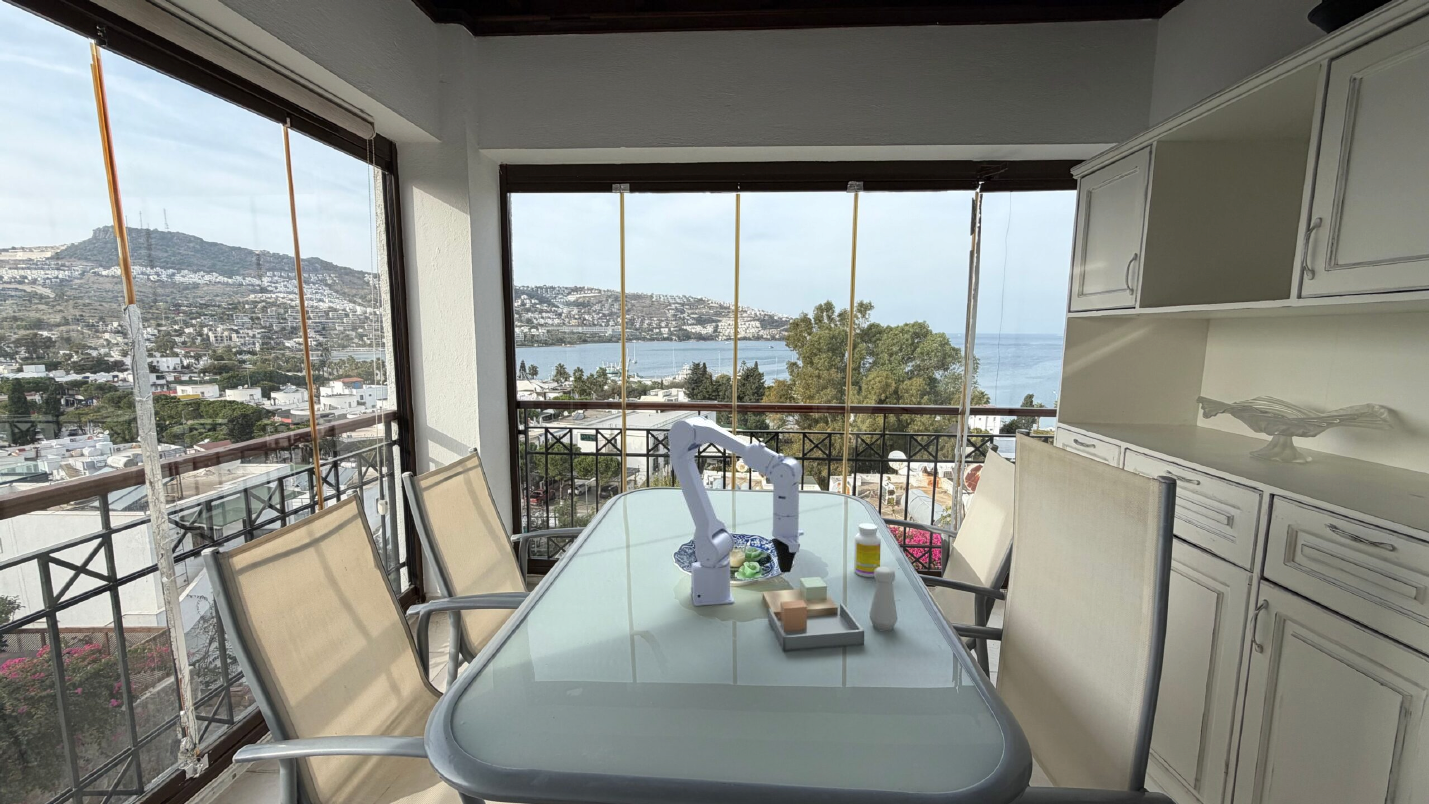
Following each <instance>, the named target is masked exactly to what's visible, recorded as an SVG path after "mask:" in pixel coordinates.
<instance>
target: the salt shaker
mask: <svg viewBox="0 0 1429 804" xmlns="http://www.w3.org/2000/svg"><path fill="white" fill-rule="evenodd" d="M873 578H874V579H875V580H876V585H875V590H874V593H873V597H872V601H871V606H870V609H869V620H870V621H871V624H872V627H874V629H876V630H878V631H880V632H890V631H892V630H893V629H894V627H895V625H896V624H897V622H898V612H897V606H896V605H897V604H896V600H895V592H894V586H893V582H894V581H895V580H896V573H895V570H893V569H892V568H891V567H889V566H880V567H878V568H876V569H875V572H874V577H873Z"/></svg>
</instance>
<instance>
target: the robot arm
mask: <svg viewBox="0 0 1429 804" xmlns="http://www.w3.org/2000/svg"><path fill="white" fill-rule="evenodd" d="M667 438H668V441H669V460H670V461H669V462H670V463H671V466H672V469H673V471H674V474H675V476H676V478H677V482H678V484H679V487H680V489H681V492H682V494H683V495H682V496H683V497H684V499H685V502H686V503H685V504H686V505H687V508H688V511H689V513H690V516H691V518H692V521H693V523H694V526H695V529H694V530H695V531H694V534H693V538H692V539H693V542H694V547H695V548H694V549H695V550H694V553H695V554H694V555H695V557H696V559H697V561H696V562H692V563H691V568H690V570H691V571H690V574H691V575H690V577H691V578H690V579H691V581H690V582H691V584H690V585H691V586H690V593H691V596H692V600H693V605H694V606H696V607H697V606H711V605H722V604H723V605H725V604H733V603H735V599H734V597H733V594H732V591H731V553H732V551H733V550H734V548H735V538H734V537H733V534H732V533H730V531H729V530H728V529H727V527H726V524H725V523H724V522H723V521H722V520H720V519H718V518H717V516H716V512H715V510H714V508H713V507H714V506H713V505H712V502H711V499H710V497H709V495H708V492H707V490H706V486H705V485H704V481H703V479H702V476H701V474H700V471H699V468H698V465H697V463H696V460H695V456H696V454H697V452H698V450H699V448H700V447H701V445H703V444H704V445H705V444H710V443H711V444H714V445H716V446H718V447H720V448H722V449H724V450H725V451H728V452H730V453H732V454H734V455H737V456H739V457H741V459H742V462H743V464H744V465H745V466H747V467H748V468H749V469H752V470H753V471H755V472H757V473H759V474H761V475H763V476H765V477H766V478H769V481H770V483H771V484H772V487H773V491H772V492H773V493H772V530H771V536H772V537H773V538H771V542H772V545H773V548H774V550H775V553H776V558H777V564H778V568H779V571H780V572H781V573H790V572H791V571H792V567H793V562H794V559H795V558H796V557H795V556H796V554H797V553H799V552H800V546H801V544H800V543H799V538H800V537H801V536H804V533H805V532H804V531H803V530H802V529H799V526H800V525H799V522H800V521H799V516H800V511H799V509H800V489H799V488H800V487H799V486H800V481H799V480H800V479H801V477H802V476H803V466H802V465H801V463H800V462H799V460H797V459H796V458H795V457H794V456H787V457H785V454H783V453H777V452H775V451H774V450H771V449H769V448H768V447H766V446H767V444H765V443H764V442H759V443H758V442H753V443H747V442H746V441H744V440H743V439H741V438H739V437H738V436H736V435H734V434H733V433H731V432H729V431H728V430H727V429H725V428H722V427H721V426H719V425H718V424H717V423H716V422H714V421H713V420H711V419H707V418H706V417H704V416H703V415H694V416H693V417H689V418H685V419H680V420H677V421H675V422H674V423H673V424H672V425H671V427H670V429H669V432H668V433H667Z"/></svg>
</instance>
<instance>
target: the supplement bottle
mask: <svg viewBox="0 0 1429 804" xmlns="http://www.w3.org/2000/svg"><path fill="white" fill-rule="evenodd" d="M858 531H859V532H858V533H857V534H856V535H855V536H854V555H853V556H854V557H853V558H854V559H853V560H854V562H853V571H854V573H856V575H858V576H861V577H863V578H864V577H866V578H875V577H874V572H875V569H876V568H878V567H881V543H882V542H881V540H882V539H881V538H880V536H879V535H878V534H877V533H878V526H877V525H876V524H873V523H860V524H859V525H858Z"/></svg>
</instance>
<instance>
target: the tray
mask: <svg viewBox="0 0 1429 804" xmlns="http://www.w3.org/2000/svg"><path fill="white" fill-rule="evenodd" d="M768 623H769V625H770V628H771V629H772V631H773V634H774V636H775V638H776V640H777V642H778V644H779V647H780V648H781V650H782V652H784V653H786V652H796V651H808V650H817V649H818V650H821V649H829V648H830V649H831V648H842V647H843V648H844V647H855V646H856V647H857V646H864V645H865V630H864V628H863V627H862V626H861V625H860V623H859V622H858V621H857V620H856V618H855V617H854V615H852V613H851V612H850V611H849V609H848V608H847V607H846V606H845V605H844V603H841V602H840V603H839V613H838V614H834V615H821V616H808V617H807V629H801V630H789V631H784V630H783V628H782V626H781V624H780V619H777V618H776V616H775V614H774V613H773V611H772V609H769V612H768Z"/></svg>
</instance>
